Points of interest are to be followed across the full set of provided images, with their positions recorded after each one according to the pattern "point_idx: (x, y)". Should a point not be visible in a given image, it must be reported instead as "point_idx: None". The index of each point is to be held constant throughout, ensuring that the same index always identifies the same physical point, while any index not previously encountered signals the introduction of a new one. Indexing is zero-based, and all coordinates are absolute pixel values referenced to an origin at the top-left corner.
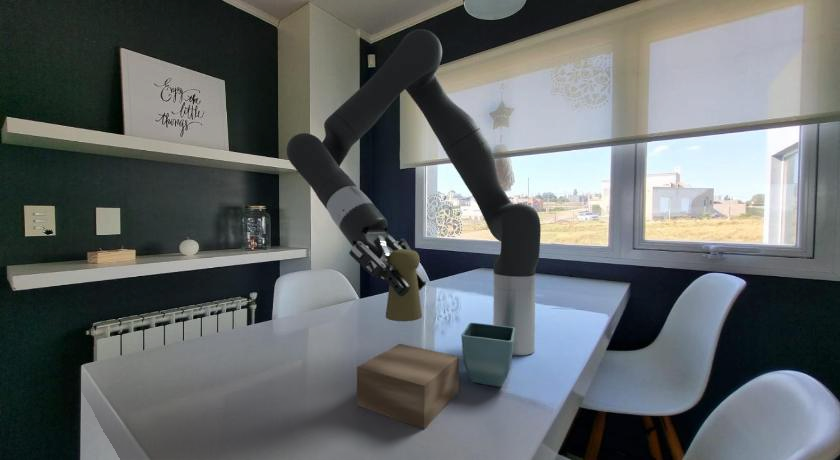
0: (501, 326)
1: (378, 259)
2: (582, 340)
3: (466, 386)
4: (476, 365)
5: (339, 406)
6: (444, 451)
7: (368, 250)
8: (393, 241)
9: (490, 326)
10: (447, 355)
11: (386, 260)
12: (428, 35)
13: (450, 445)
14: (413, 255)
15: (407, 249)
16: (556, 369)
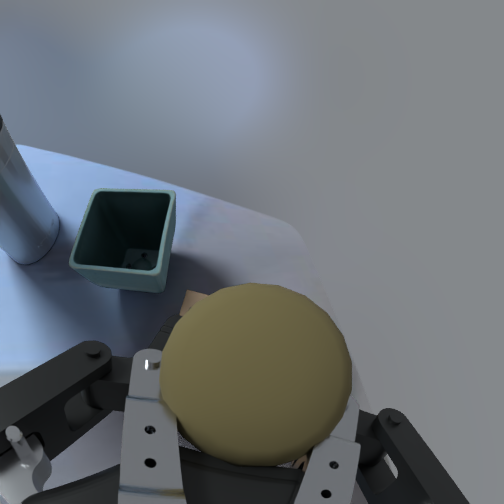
0: (89, 208)
1: (404, 445)
2: (22, 156)
3: (171, 300)
4: (167, 270)
5: (290, 464)
6: (329, 303)
7: (439, 491)
8: (165, 499)
9: (84, 228)
10: (187, 310)
11: (354, 434)
12: None
13: (317, 299)
14: (304, 296)
15: (242, 351)
16: (101, 185)
